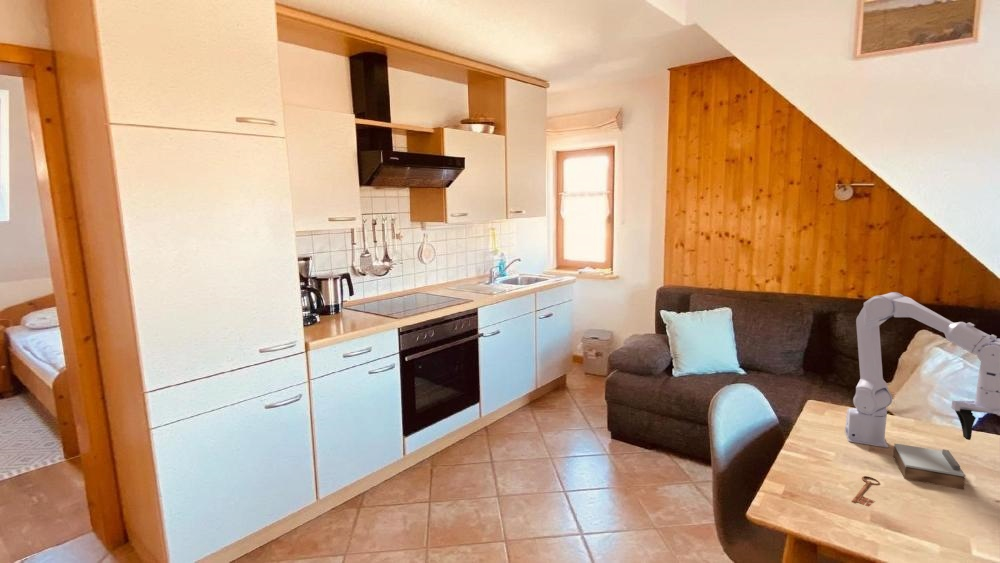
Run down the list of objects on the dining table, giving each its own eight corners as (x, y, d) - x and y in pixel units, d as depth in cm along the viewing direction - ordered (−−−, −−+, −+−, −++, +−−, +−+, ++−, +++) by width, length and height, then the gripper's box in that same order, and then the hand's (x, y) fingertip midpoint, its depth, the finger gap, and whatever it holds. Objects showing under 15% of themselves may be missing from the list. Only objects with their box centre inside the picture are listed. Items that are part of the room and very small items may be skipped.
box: (904, 478, 129) (905, 467, 129) (893, 456, 140) (894, 446, 140) (963, 489, 124) (964, 478, 123) (947, 465, 135) (948, 454, 134)
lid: (905, 466, 129) (906, 460, 128) (894, 445, 140) (894, 439, 139) (965, 476, 123) (965, 470, 123) (948, 453, 134) (949, 447, 134)
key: (872, 512, 117) (890, 487, 127) (873, 508, 117) (891, 484, 126) (843, 499, 121) (863, 476, 131) (844, 496, 121) (864, 473, 131)
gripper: (963, 391, 123) (957, 443, 125) (1042, 398, 118) (1033, 452, 120) (950, 381, 130) (944, 431, 132) (1024, 387, 125) (1016, 439, 127)
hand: (986, 440), depth 127 cm, fingers open, 7 cm apart
